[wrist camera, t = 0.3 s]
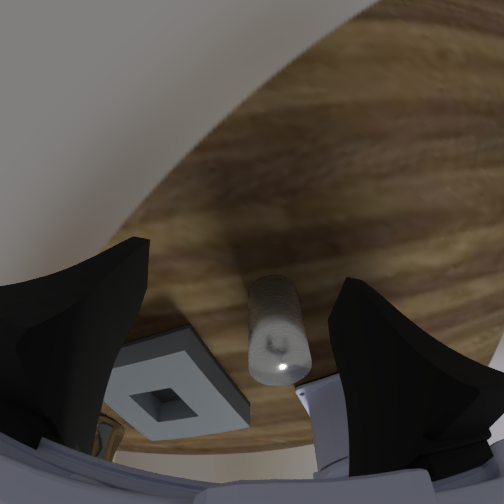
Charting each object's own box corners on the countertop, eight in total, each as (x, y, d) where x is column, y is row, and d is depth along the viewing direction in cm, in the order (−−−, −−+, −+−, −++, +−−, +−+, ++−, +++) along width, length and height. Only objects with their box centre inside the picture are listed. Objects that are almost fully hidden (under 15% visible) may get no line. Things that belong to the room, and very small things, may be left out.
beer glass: (82, 427, 34) (55, 514, 21) (77, 403, 31) (43, 503, 18) (128, 442, 35) (108, 533, 22) (128, 421, 32) (104, 527, 19)
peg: (303, 305, 24) (318, 375, 18) (259, 320, 24) (262, 391, 18) (287, 268, 22) (301, 337, 16) (240, 285, 23) (238, 356, 17)
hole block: (249, 403, 30) (250, 427, 27) (155, 420, 32) (151, 440, 29) (190, 323, 24) (184, 350, 22) (88, 353, 26) (77, 375, 24)
